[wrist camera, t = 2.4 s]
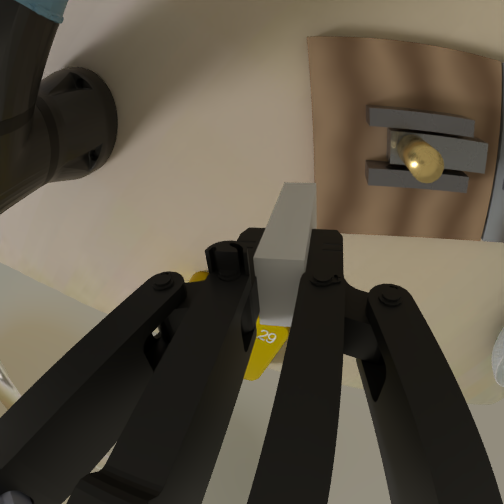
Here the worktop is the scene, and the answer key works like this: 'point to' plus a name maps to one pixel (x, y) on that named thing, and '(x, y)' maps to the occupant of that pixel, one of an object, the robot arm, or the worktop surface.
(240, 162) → the worktop surface
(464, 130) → the bolt housing
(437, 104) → the door and jamb
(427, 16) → the worktop surface
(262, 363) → the element tile
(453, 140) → the bolt
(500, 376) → the cereal bowl
